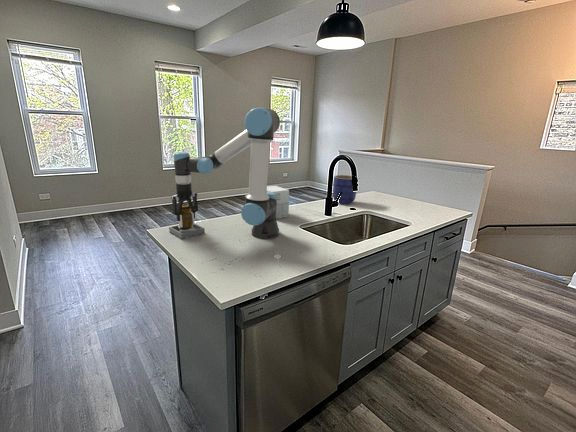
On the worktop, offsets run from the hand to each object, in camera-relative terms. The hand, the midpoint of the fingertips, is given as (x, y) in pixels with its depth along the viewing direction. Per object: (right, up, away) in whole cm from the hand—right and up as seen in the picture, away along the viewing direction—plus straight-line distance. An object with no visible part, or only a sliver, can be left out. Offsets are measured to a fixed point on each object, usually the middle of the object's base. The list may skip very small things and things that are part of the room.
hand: (186, 225), depth 160 cm
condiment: (0, -2, 0) cm, 2 cm away
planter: (+99, +15, +76) cm, 125 cm away
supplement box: (+45, +5, +38) cm, 59 cm away
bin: (0, -4, +1) cm, 4 cm away
